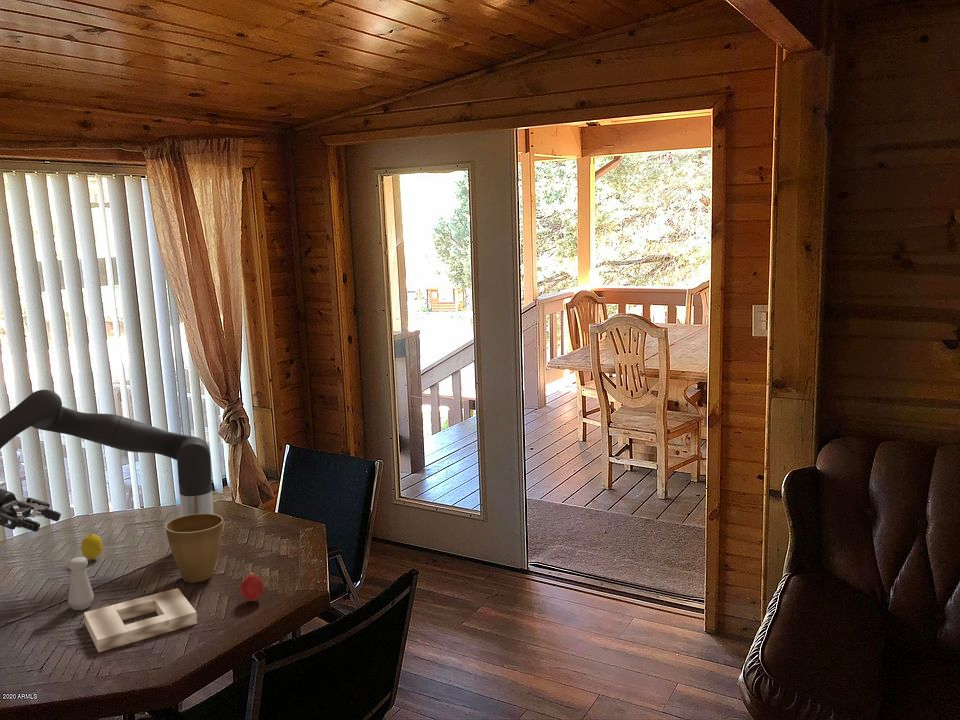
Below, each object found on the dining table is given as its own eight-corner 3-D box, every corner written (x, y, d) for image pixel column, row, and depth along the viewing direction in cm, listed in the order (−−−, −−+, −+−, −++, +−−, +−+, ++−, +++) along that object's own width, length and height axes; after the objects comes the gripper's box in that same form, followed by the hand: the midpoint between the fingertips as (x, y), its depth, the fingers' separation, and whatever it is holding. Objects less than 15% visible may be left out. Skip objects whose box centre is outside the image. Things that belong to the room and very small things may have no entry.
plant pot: (236, 576, 212) (233, 521, 210) (184, 594, 202) (181, 537, 199) (209, 561, 223) (206, 508, 220) (159, 577, 212) (155, 522, 209)
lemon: (95, 564, 220) (92, 538, 219) (78, 562, 221) (75, 536, 220) (107, 556, 226) (105, 530, 224) (91, 555, 227) (89, 529, 225)
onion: (243, 596, 201) (242, 567, 199) (266, 595, 201) (264, 567, 200) (238, 607, 195) (237, 577, 194) (261, 606, 195) (260, 577, 194)
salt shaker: (99, 603, 197) (95, 556, 195) (81, 614, 191) (77, 565, 189) (82, 600, 199) (77, 552, 197) (63, 610, 193) (59, 561, 191)
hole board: (178, 598, 199) (177, 587, 199) (197, 623, 187) (196, 611, 186) (85, 624, 186) (84, 612, 186) (98, 652, 174) (97, 640, 173)
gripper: (-28, 495, 185) (35, 517, 185) (11, 480, 199) (69, 500, 199) (-36, 523, 186) (27, 545, 185) (3, 506, 200) (62, 527, 199)
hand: (49, 522), depth 192 cm, fingers open, 8 cm apart
